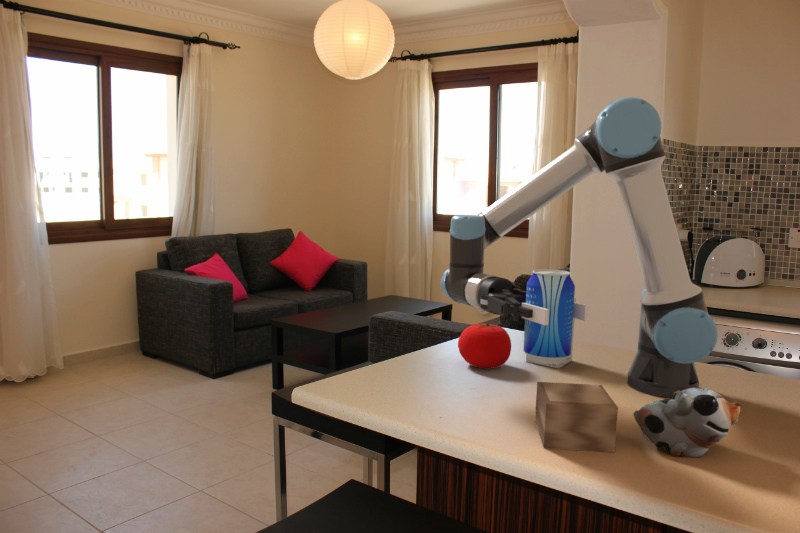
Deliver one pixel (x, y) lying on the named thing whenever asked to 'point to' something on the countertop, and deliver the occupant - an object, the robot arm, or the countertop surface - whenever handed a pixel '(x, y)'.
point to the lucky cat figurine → (688, 421)
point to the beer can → (550, 316)
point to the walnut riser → (575, 417)
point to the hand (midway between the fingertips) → (567, 315)
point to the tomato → (485, 345)
